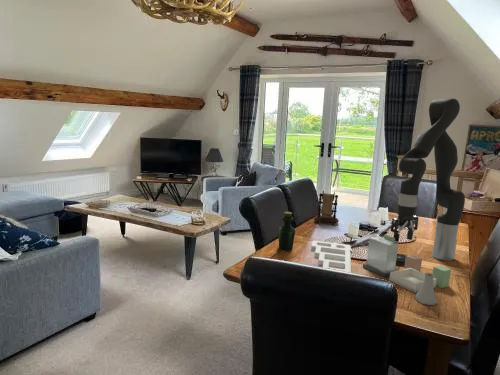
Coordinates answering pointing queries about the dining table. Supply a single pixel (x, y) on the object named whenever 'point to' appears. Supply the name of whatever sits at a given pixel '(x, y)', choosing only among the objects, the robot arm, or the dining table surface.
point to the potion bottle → (286, 233)
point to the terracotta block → (413, 262)
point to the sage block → (441, 276)
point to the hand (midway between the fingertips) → (402, 240)
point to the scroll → (327, 209)
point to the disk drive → (401, 259)
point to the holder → (332, 255)
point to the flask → (427, 291)
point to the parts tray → (409, 279)
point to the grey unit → (382, 255)
